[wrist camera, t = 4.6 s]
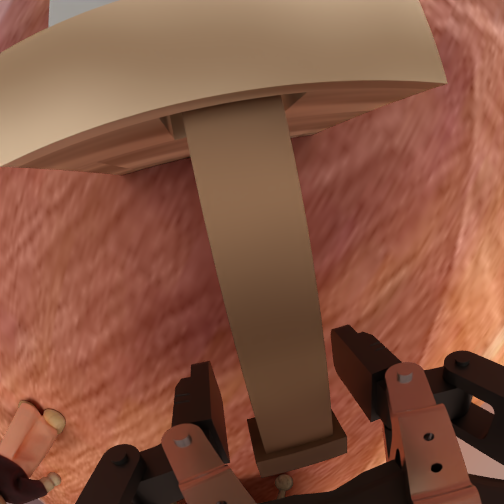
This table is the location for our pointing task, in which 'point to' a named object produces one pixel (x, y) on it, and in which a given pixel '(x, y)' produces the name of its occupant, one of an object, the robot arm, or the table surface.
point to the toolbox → (201, 74)
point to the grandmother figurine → (27, 454)
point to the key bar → (266, 277)
